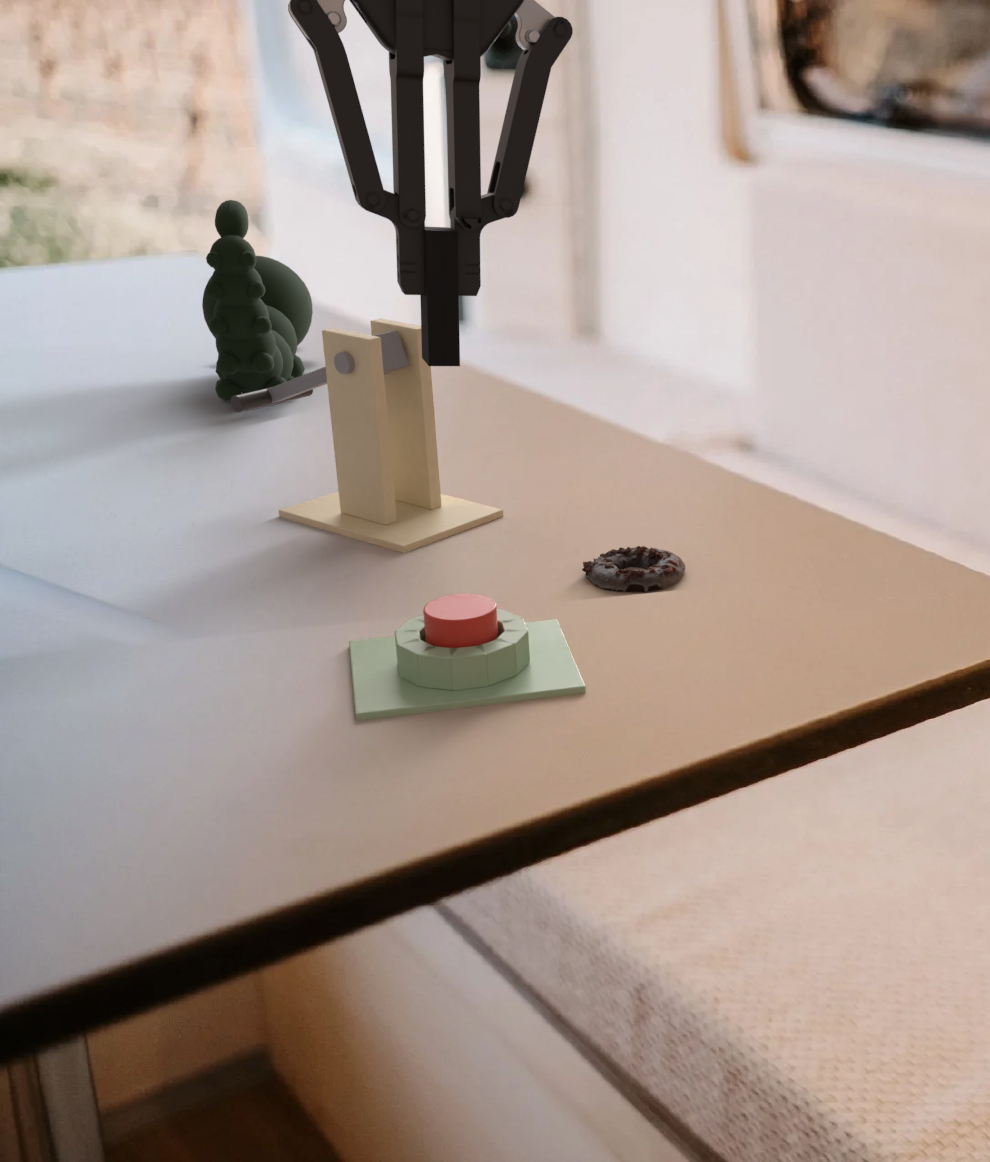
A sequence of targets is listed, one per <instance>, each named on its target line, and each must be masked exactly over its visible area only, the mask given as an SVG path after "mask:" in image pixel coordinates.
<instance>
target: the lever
mask: <svg viewBox="0 0 990 1162" xmlns="http://www.w3.org/2000/svg"><path fill="white" fill-rule="evenodd" d="M371 335H372V334H371ZM372 336H377V337H380V338H381V349H382V360H383V371H384V375H385V374H388V373H390V372H393V371H396V370H399V369H401V368H404V367H407V366H409V362H408V359H407V356H406V353H405V350H404V348H403V345H402V342H401V339H400V336H399V333H398V331H397V330H396V331H391V332H386V333H381V334H377V335H372ZM325 385H327V376H326V366H323V367H321V368H318V369H316V370H313V371H310V372H307V373H305V374H303V375H302V376H300V377H297V378H295V379H292V380H289V381H287V382H284V383H282V384H279V385H277V386H274V387H270V388H265V389H261V390H257V391H252V392H248V393H241V394H239V395H235V396H232V398H231V401H230V406H231V408H232V410H233V411H234V412H235V413H238V414H239V413H244V412H249V411H252V410H256V409H261V408H265V407H270V406H273V405H277V404H281V403H286V402H290V401H294V400H298V399H302V398H306V397H311V396H312V395H313V392H314V390H315V389H318V388H320V387H322V386H325Z"/></svg>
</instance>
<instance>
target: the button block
mask: <svg viewBox="0 0 990 1162" xmlns="http://www.w3.org/2000/svg"><path fill="white" fill-rule="evenodd" d="M497 623H498V637H497V639H496V640H493V641H490V642H487V643H485V644H482V645H479V646H470V647H461V648H445V647H436V646H433V645H430V644H428V643H427V642H426V638H425V626H424V614H421V615H418V616H414V617H412V618H409V619H408V620H406V621H405V622H404V623H403V624H402V625H400V626H399V627H398V628H397V629H396V630H394V635H393V636H382V637H374V638H364V639H363V638H362V639H354V640H353V639H352V640H349V641H348V648H349V649H348V650H349V657H350V670H351V671H350V672H351V681H352V682H351V683H352V691H353V704H354V715H355V721H357V722H358V721H364V720H365V721H366V720H374V719H381V718H390V717H398V716H407V715H416V714H423V713H424V714H425V713H431V712H440V711H449V710H456V709H463V708H465V709H466V708H474V707H480V706H481V707H482V706H487V705H488V706H489V705H496V704H497V705H498V704H505V703H513V702H521V701H523V702H524V701H530V700H537V699H545V698H554V697H562V696H564V697H565V696H572V695H579V694H585V693H587V686H586V684H585V682H584V680H583V677H582V675H581V673H580V670H579V667H578V665H577V663H576V660H575V658H574V655H573V654H572V651H571V649H570V646H569V644H568V642H567V639H566V637H565V634H564V632H563V630H562V627H561V625H560V623H559V620H558V619H557V618H555V619H545V620H536V621H525V619H524V618H523V617H522V616H520V615H517V614H515V613H513V612H510V611H507V610H506V609H503V608H497Z"/></svg>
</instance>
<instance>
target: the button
mask: <svg viewBox="0 0 990 1162" xmlns="http://www.w3.org/2000/svg"><path fill="white" fill-rule="evenodd" d="M497 609H498V608H497V603H496V602H495V600H494V599H492V598H491V597H489V596H486V595H482V594H477V593H476V594H475V593H456V594H455V593H453V594H448V595H444V596H440V597H437V598H434V599H432V600H430V601H429V602H427V603H426V604H425V605H424V606H423V611H422V613H423V614H422V615H424V626H425V638H426V642H427V643H428V644H430V645H433V646H436V647H445V648H461V647H470V646H479V645H482V644H485V643H487V642H490V641H493V640H496V639H497V637H498V623H497Z"/></svg>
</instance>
